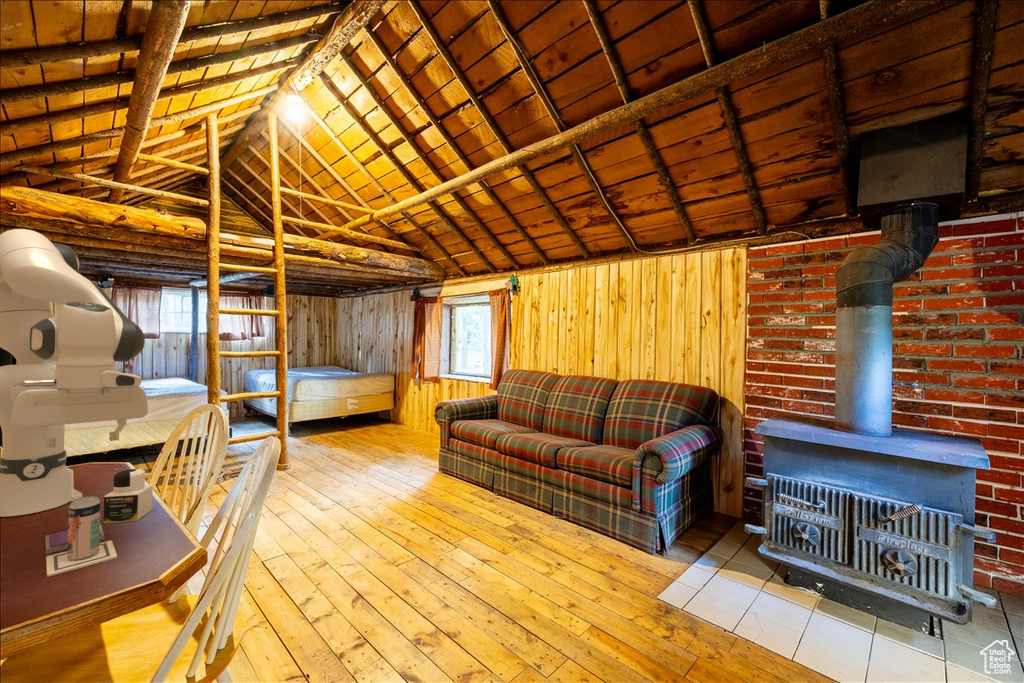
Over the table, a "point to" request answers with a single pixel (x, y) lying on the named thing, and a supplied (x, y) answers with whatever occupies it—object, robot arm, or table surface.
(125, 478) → the medicine bottle
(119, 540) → the table surface
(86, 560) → the marked card
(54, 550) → the ink pad
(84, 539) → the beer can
